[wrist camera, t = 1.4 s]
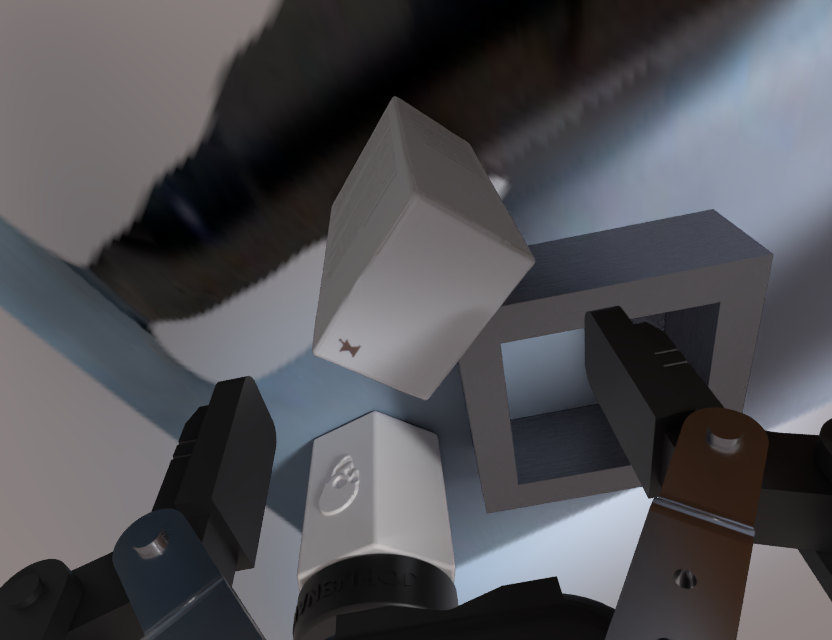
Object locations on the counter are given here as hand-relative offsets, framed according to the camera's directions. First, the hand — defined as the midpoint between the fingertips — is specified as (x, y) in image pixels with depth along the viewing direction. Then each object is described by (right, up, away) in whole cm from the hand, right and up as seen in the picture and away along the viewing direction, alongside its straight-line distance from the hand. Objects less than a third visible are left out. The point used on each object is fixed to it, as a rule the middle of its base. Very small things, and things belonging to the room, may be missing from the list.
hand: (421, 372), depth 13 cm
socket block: (+9, 0, +19) cm, 21 cm away
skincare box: (-1, +8, +13) cm, 15 cm away
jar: (-3, -8, +23) cm, 24 cm away
